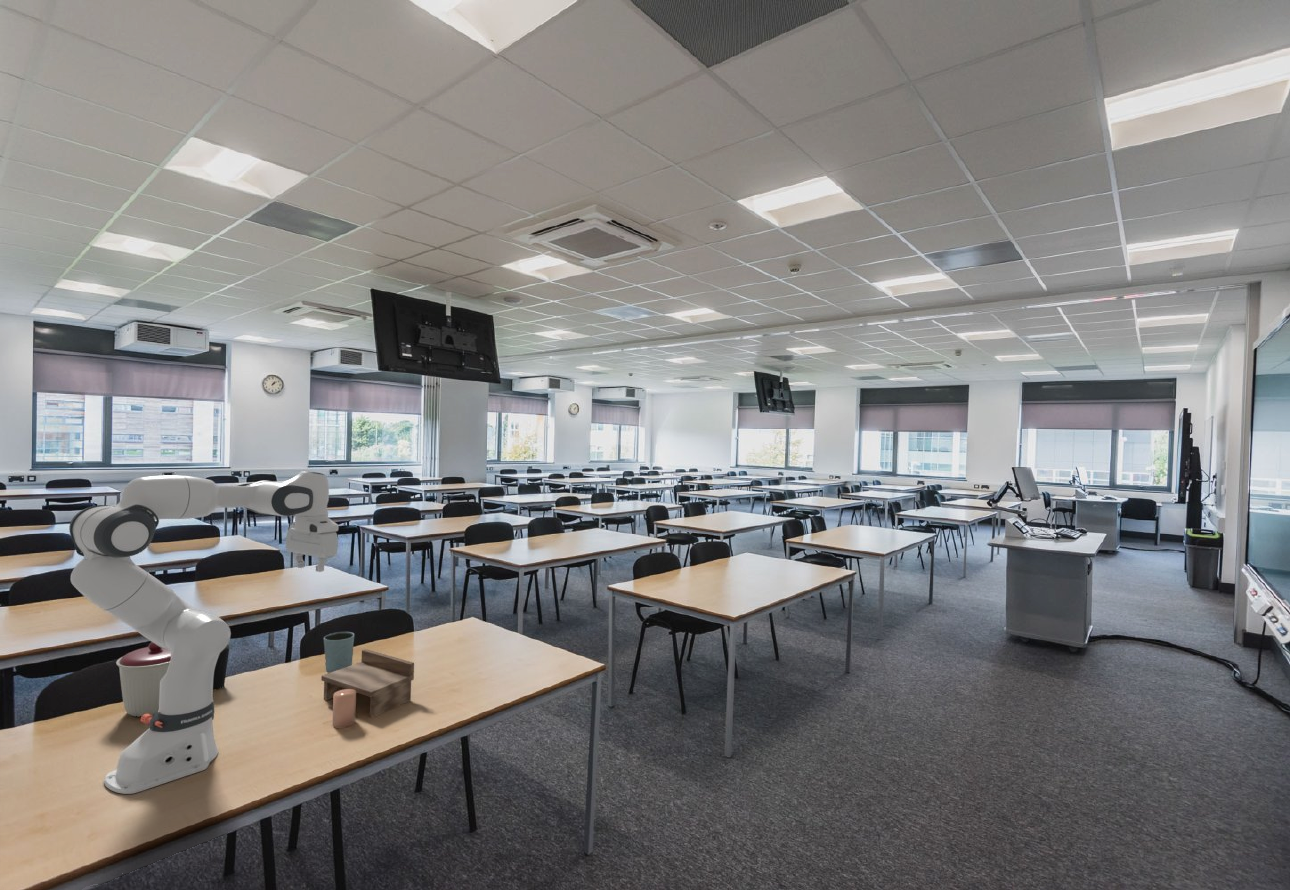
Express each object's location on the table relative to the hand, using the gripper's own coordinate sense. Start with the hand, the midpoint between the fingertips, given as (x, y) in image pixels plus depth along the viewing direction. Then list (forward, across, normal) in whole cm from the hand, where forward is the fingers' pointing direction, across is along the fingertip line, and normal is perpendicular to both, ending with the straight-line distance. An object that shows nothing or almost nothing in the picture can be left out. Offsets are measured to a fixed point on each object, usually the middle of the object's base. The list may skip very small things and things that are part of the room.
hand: (310, 569), depth 181 cm
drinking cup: (+45, -44, -3) cm, 63 cm away
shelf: (+45, +6, +17) cm, 48 cm away
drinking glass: (+45, -26, +29) cm, 59 cm away
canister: (+45, -42, -21) cm, 65 cm away
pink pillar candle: (+45, +14, +3) cm, 47 cm away
